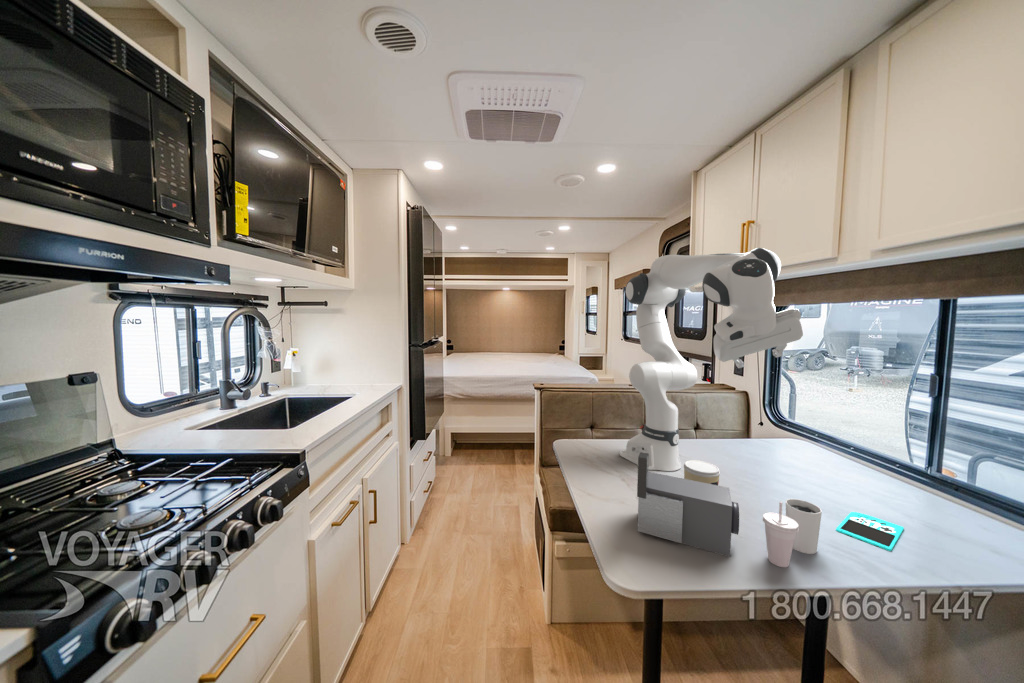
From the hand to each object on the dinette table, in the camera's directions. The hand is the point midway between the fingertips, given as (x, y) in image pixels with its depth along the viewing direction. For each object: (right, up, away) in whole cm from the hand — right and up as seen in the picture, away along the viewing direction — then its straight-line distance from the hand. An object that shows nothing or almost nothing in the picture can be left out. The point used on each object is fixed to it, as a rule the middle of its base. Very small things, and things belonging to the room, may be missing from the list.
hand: (758, 361), depth 95 cm
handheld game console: (+26, -44, -5) cm, 51 cm away
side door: (-32, -43, -10) cm, 54 cm away
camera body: (-24, -44, -6) cm, 50 cm away
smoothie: (-8, -44, -17) cm, 48 cm away
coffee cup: (-13, -43, +6) cm, 45 cm away
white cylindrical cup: (+2, -44, -11) cm, 46 cm away
